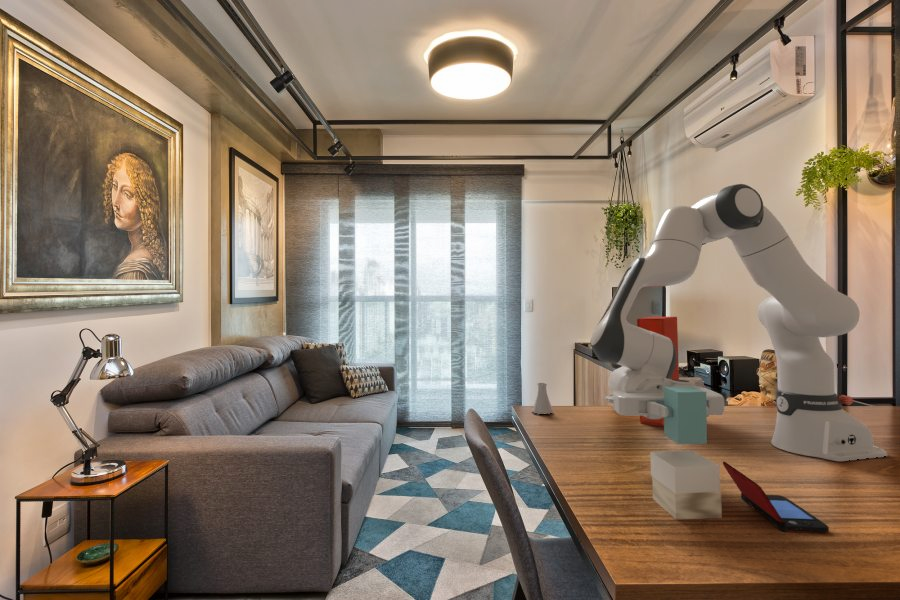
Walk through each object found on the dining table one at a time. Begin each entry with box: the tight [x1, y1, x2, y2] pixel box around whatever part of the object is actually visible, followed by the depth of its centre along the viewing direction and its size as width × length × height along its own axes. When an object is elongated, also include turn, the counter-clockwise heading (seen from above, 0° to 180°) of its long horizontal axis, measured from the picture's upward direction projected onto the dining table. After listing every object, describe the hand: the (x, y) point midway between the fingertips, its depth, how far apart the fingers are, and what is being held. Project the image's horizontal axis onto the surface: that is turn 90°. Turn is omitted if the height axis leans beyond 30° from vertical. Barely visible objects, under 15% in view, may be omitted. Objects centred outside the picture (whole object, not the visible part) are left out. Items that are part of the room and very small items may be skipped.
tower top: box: [650, 449, 721, 494], centre depth 80 cm, size 8×8×4 cm
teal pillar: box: [663, 387, 708, 445], centre depth 80 cm, size 5×5×9 cm
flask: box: [531, 382, 554, 414], centre depth 150 cm, size 7×7×10 cm
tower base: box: [651, 476, 723, 520], centre depth 80 cm, size 8×8×4 cm
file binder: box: [636, 316, 680, 427], centre depth 140 cm, size 8×17×32 cm, turn 142°
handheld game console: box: [722, 461, 830, 534], centre depth 77 cm, size 12×11×7 cm
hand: (687, 412), depth 79 cm, fingers closed on teal pillar, 5 cm apart
